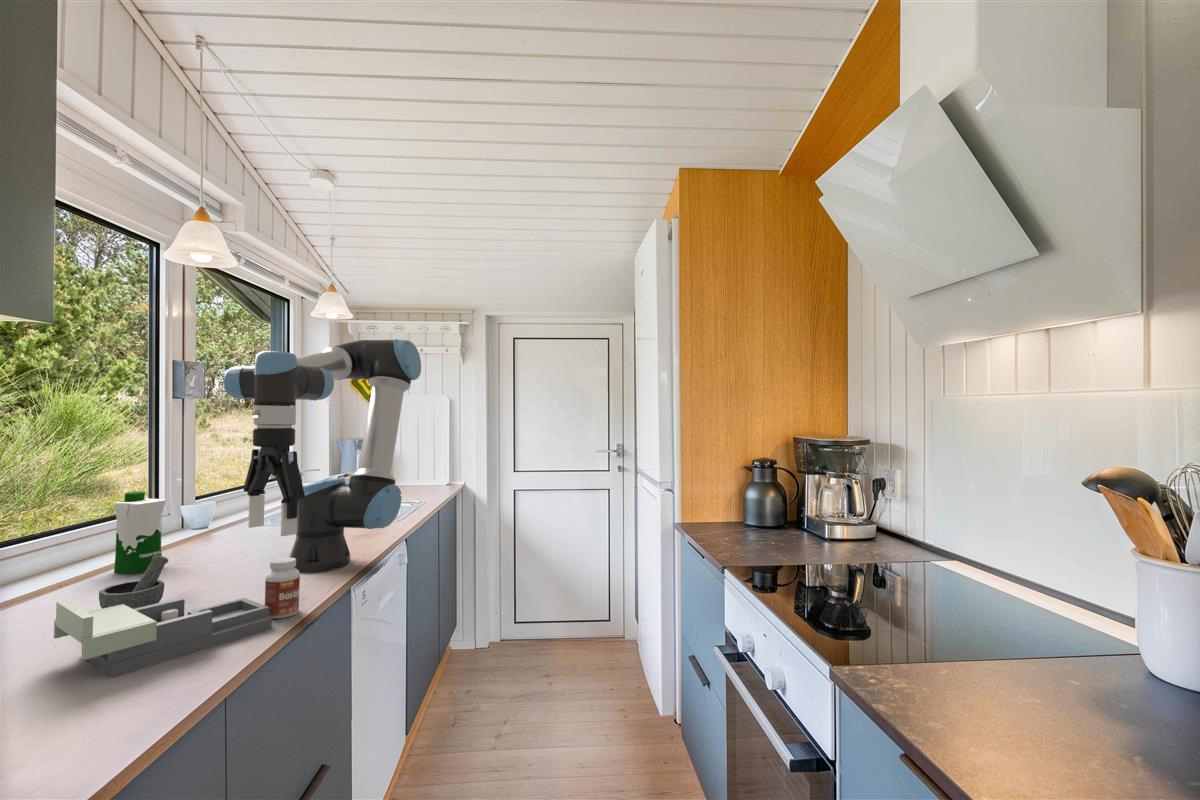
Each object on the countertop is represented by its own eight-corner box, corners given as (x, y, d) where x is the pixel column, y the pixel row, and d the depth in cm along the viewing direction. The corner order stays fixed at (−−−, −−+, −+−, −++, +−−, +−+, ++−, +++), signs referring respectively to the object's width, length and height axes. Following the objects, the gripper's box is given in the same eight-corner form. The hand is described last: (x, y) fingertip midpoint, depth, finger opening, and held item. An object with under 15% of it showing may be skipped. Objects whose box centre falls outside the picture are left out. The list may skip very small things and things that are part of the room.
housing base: (238, 612, 114) (239, 583, 115) (274, 627, 107) (274, 596, 107) (81, 655, 94) (82, 619, 94) (111, 677, 86) (112, 638, 87)
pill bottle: (279, 621, 110) (281, 565, 110) (257, 617, 112) (258, 562, 112) (305, 611, 116) (307, 557, 116) (283, 607, 118) (284, 555, 118)
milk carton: (142, 564, 150) (144, 490, 151) (169, 566, 148) (171, 491, 149) (107, 573, 142) (109, 494, 142) (134, 576, 139) (137, 496, 140)
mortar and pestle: (118, 634, 103) (120, 569, 103) (85, 628, 106) (88, 564, 106) (181, 614, 114) (183, 555, 114) (149, 608, 117) (151, 551, 117)
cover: (122, 621, 99) (123, 587, 99) (156, 639, 91) (157, 603, 91) (53, 637, 91) (54, 601, 92) (83, 660, 83) (84, 619, 83)
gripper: (227, 426, 118) (224, 526, 118) (286, 428, 104) (283, 542, 103) (264, 425, 124) (262, 520, 124) (325, 427, 110) (322, 535, 110)
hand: (271, 530), depth 114 cm, fingers open, 13 cm apart
